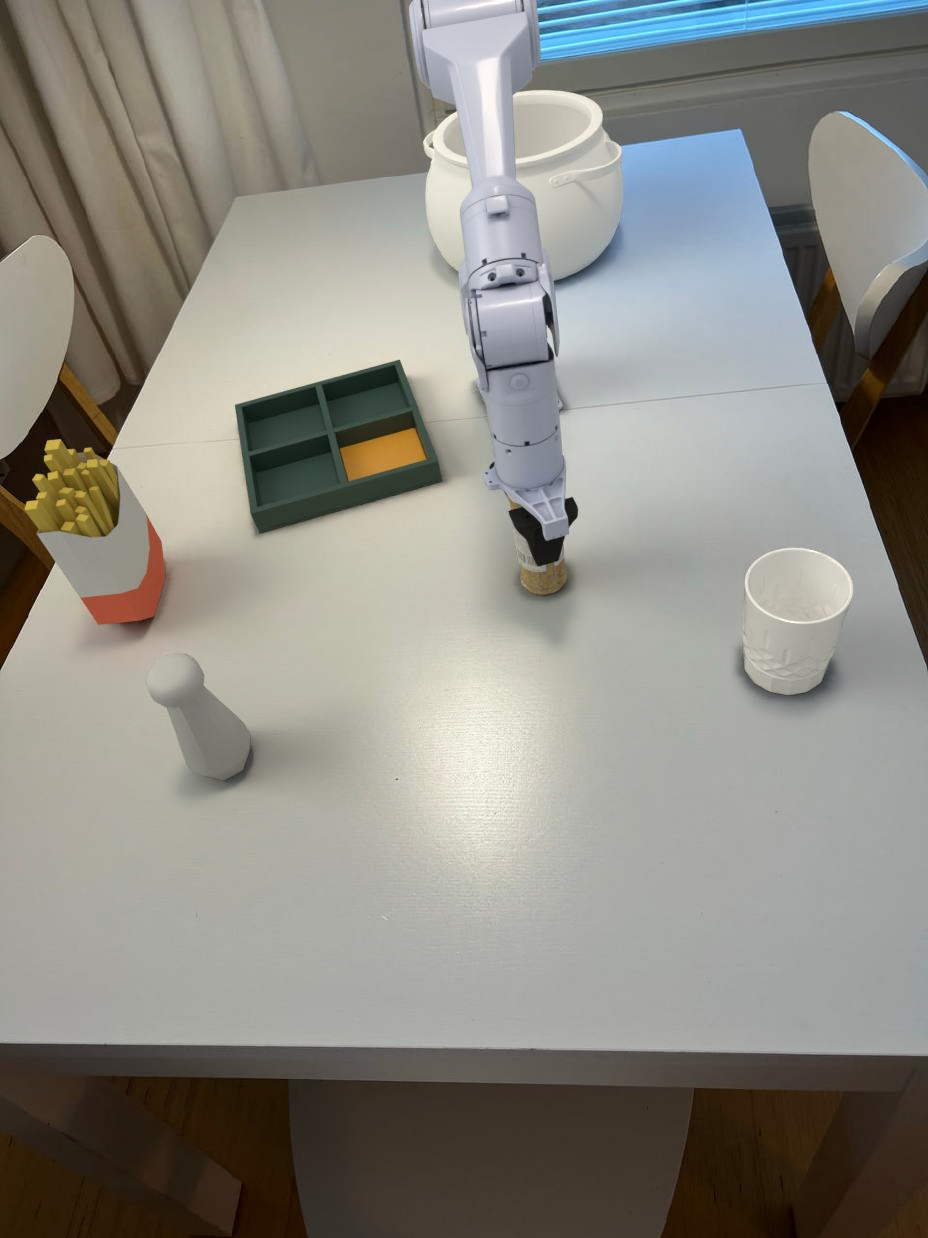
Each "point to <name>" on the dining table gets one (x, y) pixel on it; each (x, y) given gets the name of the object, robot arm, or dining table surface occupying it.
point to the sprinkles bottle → (537, 576)
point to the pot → (538, 178)
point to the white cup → (793, 618)
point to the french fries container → (98, 535)
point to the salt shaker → (199, 718)
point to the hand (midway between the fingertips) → (539, 543)
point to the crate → (333, 446)
